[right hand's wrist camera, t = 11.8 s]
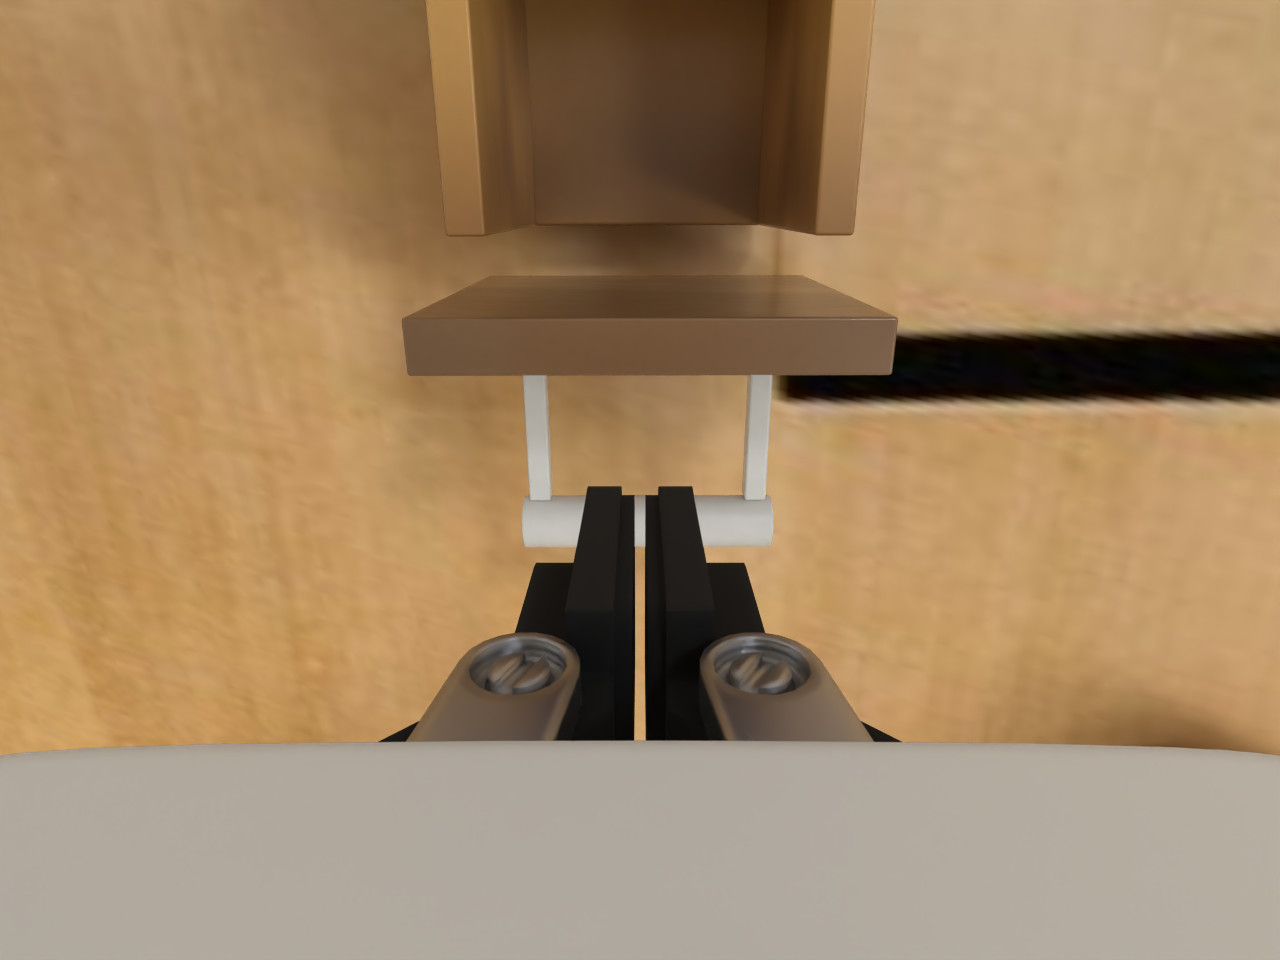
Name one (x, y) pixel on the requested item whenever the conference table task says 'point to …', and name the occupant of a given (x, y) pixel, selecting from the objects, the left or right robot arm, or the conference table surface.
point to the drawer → (649, 205)
